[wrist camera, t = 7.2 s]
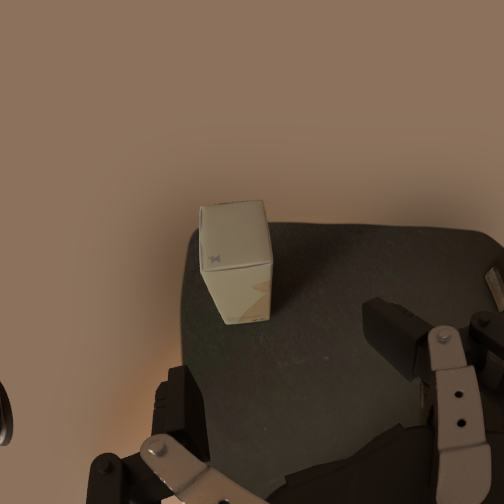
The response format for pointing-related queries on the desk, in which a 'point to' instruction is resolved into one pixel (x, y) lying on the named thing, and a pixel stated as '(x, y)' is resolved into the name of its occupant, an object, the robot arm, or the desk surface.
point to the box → (237, 259)
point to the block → (496, 287)
